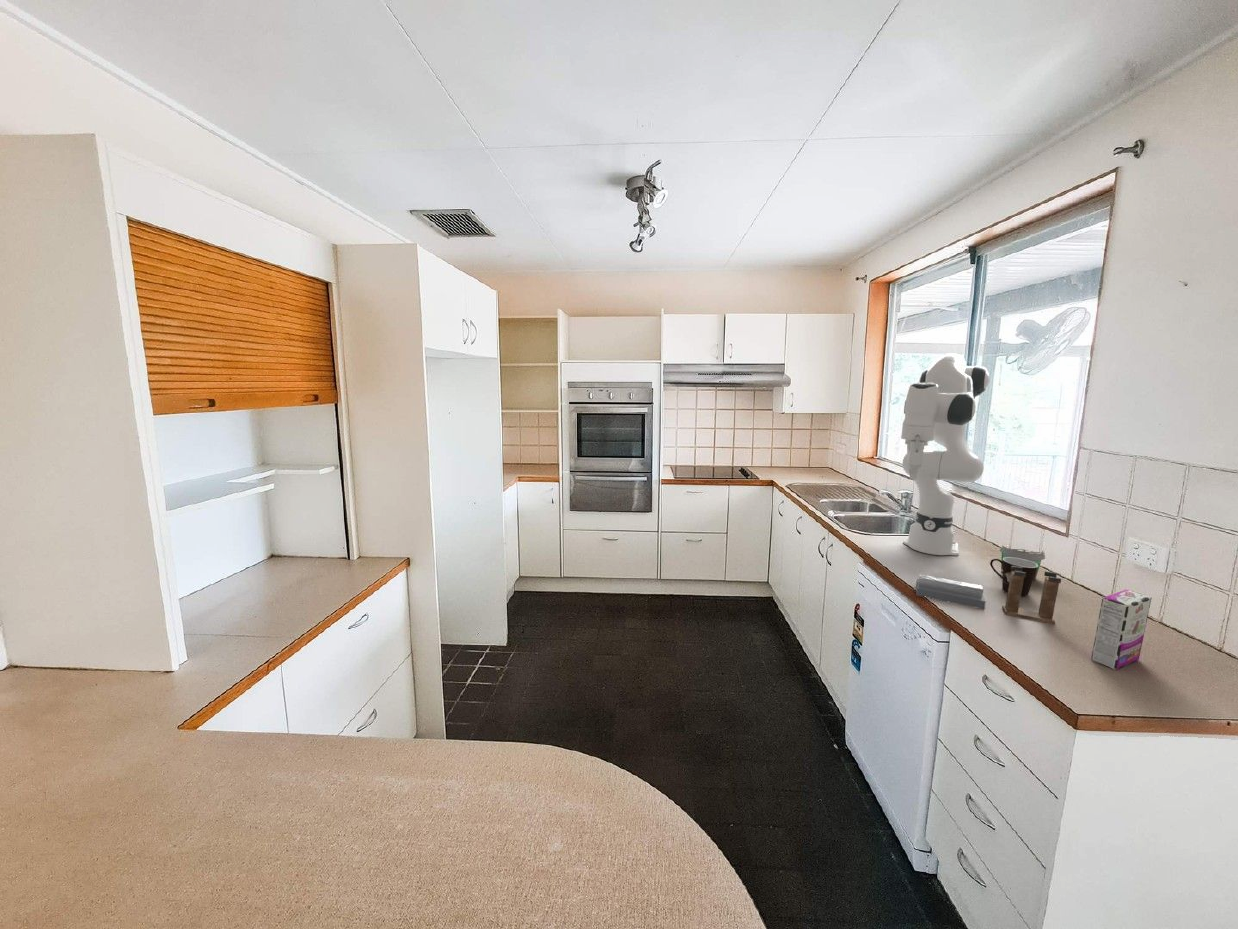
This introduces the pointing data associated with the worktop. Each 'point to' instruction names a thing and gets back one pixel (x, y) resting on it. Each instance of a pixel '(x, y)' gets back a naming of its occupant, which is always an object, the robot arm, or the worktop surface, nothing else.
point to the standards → (1046, 599)
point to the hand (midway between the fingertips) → (912, 476)
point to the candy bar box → (1120, 629)
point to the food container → (1022, 556)
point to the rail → (951, 585)
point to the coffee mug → (1007, 562)
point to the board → (950, 596)
